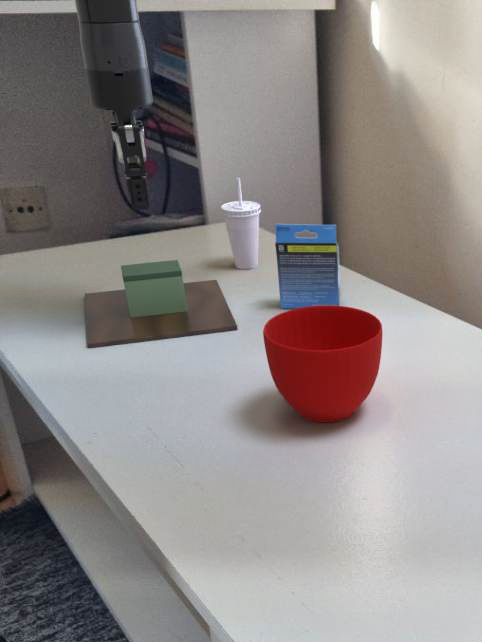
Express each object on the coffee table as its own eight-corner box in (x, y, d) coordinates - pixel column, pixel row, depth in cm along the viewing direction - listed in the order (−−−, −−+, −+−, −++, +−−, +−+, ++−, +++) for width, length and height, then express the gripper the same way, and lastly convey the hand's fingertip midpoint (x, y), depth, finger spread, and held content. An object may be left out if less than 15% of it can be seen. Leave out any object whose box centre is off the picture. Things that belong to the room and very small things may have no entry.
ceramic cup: (403, 377, 100) (404, 299, 94) (364, 443, 86) (362, 357, 81) (305, 365, 102) (300, 289, 97) (252, 428, 89) (243, 343, 83)
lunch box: (187, 311, 116) (181, 270, 113) (130, 318, 114) (122, 276, 111) (183, 299, 120) (177, 259, 117) (128, 305, 118) (120, 265, 115)
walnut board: (88, 348, 107) (87, 343, 107) (85, 297, 123) (84, 293, 122) (237, 329, 112) (237, 325, 112) (216, 283, 128) (216, 279, 127)
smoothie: (229, 273, 131) (219, 183, 123) (225, 261, 136) (215, 174, 128) (268, 269, 133) (260, 180, 125) (262, 258, 138) (255, 171, 130)
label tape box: (341, 300, 121) (338, 216, 114) (339, 310, 118) (336, 224, 111) (283, 299, 121) (277, 216, 114) (280, 309, 118) (273, 224, 111)
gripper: (83, 58, 104) (107, 190, 113) (85, 72, 93) (112, 217, 102) (143, 57, 106) (162, 186, 115) (152, 69, 94) (172, 212, 104)
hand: (138, 200), depth 108 cm, fingers open, 8 cm apart
